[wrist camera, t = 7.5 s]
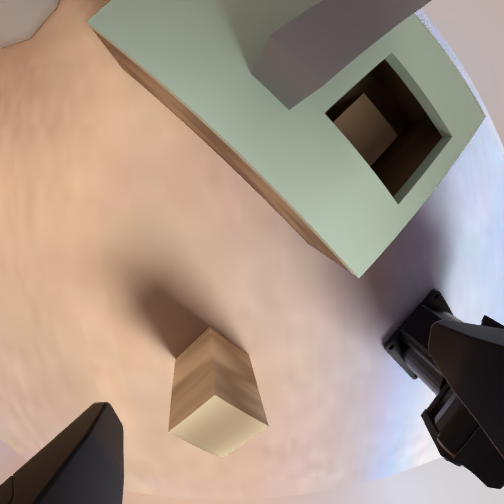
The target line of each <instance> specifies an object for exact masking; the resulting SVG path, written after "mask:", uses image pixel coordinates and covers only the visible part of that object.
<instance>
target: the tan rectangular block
mask: <svg viewBox="0 0 504 504" xmlns="http://www.w3.org/2000/svg"><path fill="white" fill-rule="evenodd" d="M267 427H268V422H267V419H266V415H265V412H264V408H263V405H262V401H261V397H260V394H259V390H258V387H257V383H256V379H255V376H254V372H253V368H252V364H251V361H250V357H249V355H248V354H246V353H245V352H244V351H242V350H241V349H240V348H238V347H237V346H236V345H234V344H233V343H232V342H230V341H229V340H228V339H227V338H225V337H224V336H223V335H221V334H220V333H219V332H217V331H216V330H215V329H214V328H212V327H211V326H209V327H208V328H207V329H206V330H205V331H204V332H203V333H202V334H201V335H200V336H199V337H198V338H197V339H196V340H195V341H194V342H193V343H192V344H191V345H190V346H189V347H188V348H187V349H186V350H185V351H183V352H182V353H181V354H180V355H179V356H178V357H177V358H176V360H175V369H174V378H173V387H172V397H171V407H170V419H169V431H168V432H170V433H171V434H173V435H175V436H177V437H179V438H181V439H183V440H185V441H186V442H188V443H190V444H192V445H194V446H196V447H198V448H200V449H202V450H204V451H207V452H209V453H211V454H213V455H215V456H217V457H219V458H223V457H225V456H226V455H228V454H229V453H231V452H232V451H234V450H235V449H237V448H238V447H240V446H241V445H243V444H244V443H246V442H247V441H248V440H250V439H251V438H253V437H254V436H256V435H257V434H258V433H260V432H261V431H263V430H264V429H265V428H267Z"/></svg>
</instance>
